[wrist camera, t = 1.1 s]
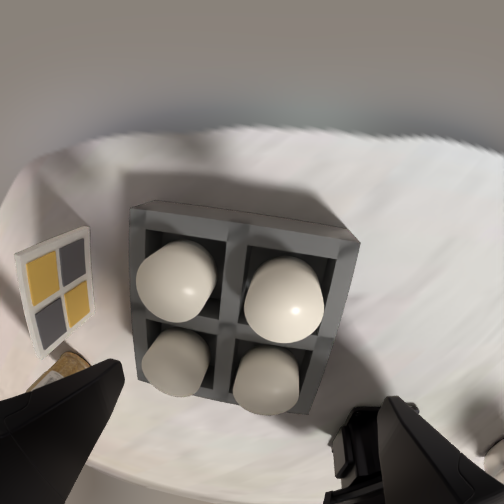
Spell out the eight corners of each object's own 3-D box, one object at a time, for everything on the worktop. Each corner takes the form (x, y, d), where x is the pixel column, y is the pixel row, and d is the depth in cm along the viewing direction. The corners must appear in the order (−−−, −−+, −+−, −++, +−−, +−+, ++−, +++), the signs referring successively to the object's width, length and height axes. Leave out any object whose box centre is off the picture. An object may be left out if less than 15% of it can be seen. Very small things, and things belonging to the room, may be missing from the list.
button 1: (304, 349, 16) (305, 375, 14) (292, 392, 17) (291, 418, 15) (243, 339, 17) (236, 364, 14) (236, 383, 18) (230, 409, 15)
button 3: (212, 333, 17) (201, 357, 14) (209, 378, 18) (200, 402, 15) (155, 321, 17) (139, 341, 15) (157, 365, 18) (144, 387, 16)
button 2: (325, 261, 15) (331, 279, 12) (311, 323, 16) (314, 347, 13) (255, 250, 15) (249, 266, 13) (247, 312, 16) (240, 336, 14)
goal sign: (91, 227, 19) (21, 256, 12) (97, 313, 21) (43, 360, 14) (83, 226, 19) (13, 254, 12) (89, 311, 21) (36, 356, 14)
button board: (348, 228, 17) (360, 242, 14) (307, 384, 20) (308, 414, 17) (155, 200, 18) (129, 208, 14) (154, 354, 21) (137, 379, 18)
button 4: (220, 244, 15) (208, 259, 13) (214, 307, 16) (203, 329, 14) (156, 234, 15) (135, 246, 13) (155, 294, 16) (137, 313, 14)
